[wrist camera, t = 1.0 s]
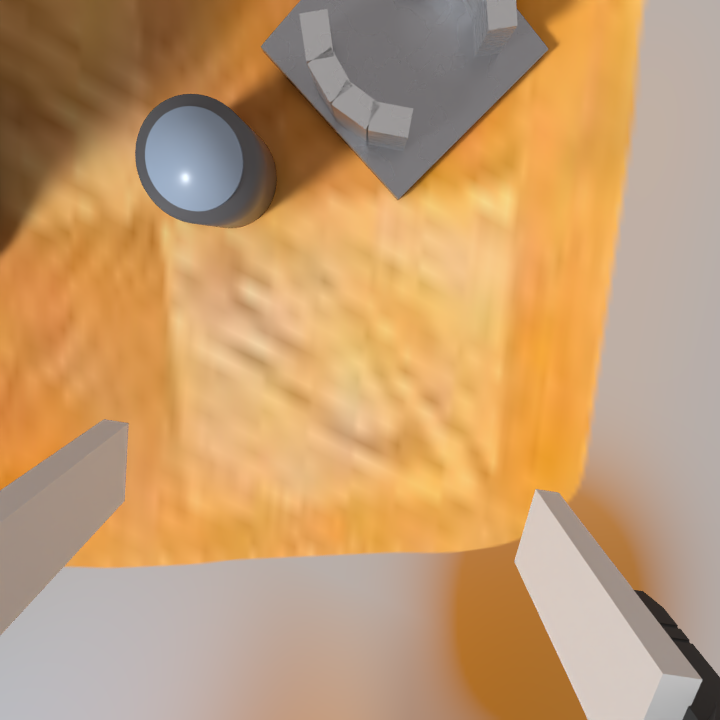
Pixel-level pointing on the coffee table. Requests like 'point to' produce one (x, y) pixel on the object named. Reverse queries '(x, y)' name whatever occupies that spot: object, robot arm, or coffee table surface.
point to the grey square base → (403, 73)
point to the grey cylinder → (204, 163)
